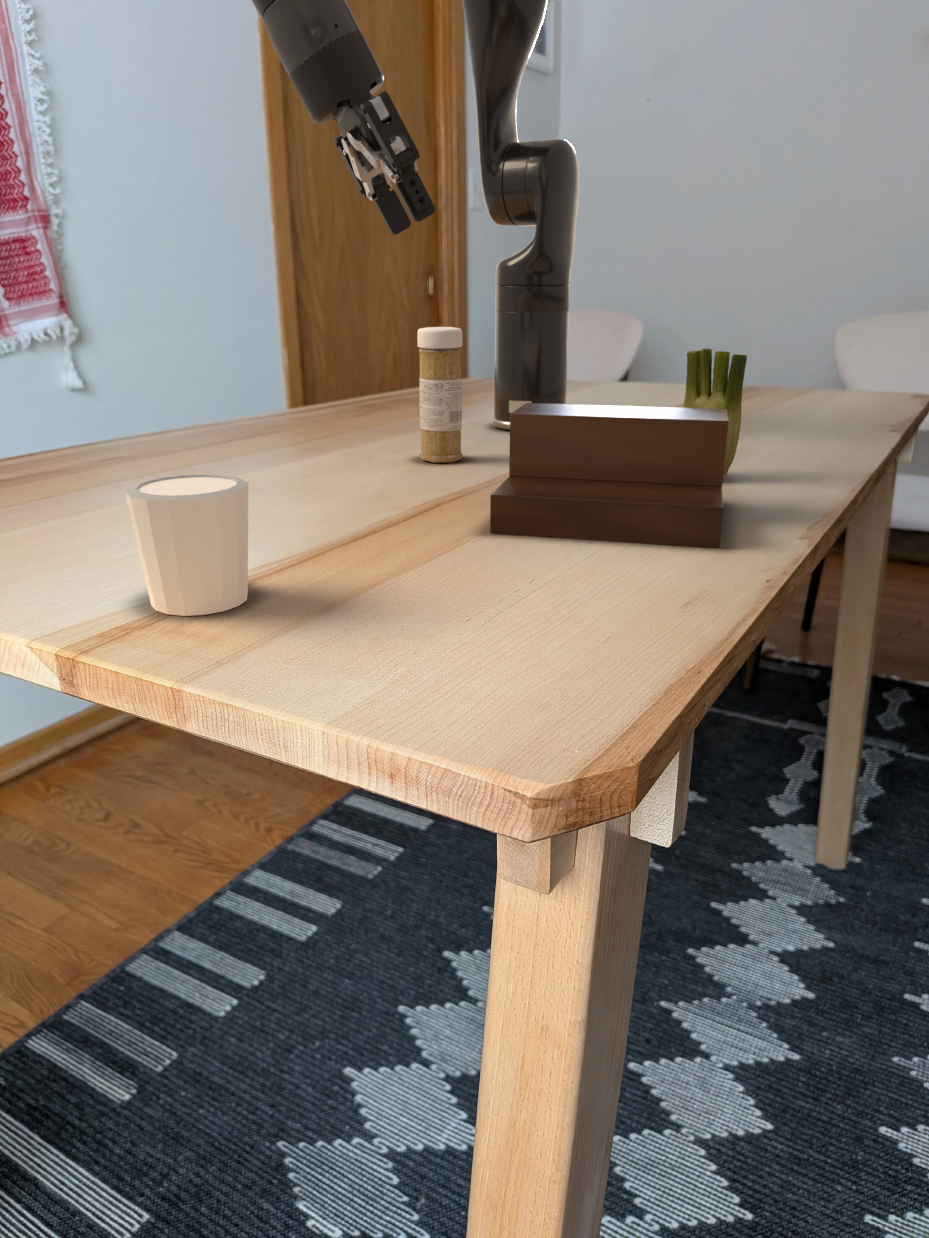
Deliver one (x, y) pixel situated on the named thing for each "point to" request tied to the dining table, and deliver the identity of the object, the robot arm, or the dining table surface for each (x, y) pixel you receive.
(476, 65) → the robot arm
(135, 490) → the cream cup
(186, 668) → the dining table surface
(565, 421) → the step rack
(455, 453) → the spice jar
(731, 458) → the fennel bulb
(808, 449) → the dining table surface
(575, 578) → the dining table surface
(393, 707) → the dining table surface
